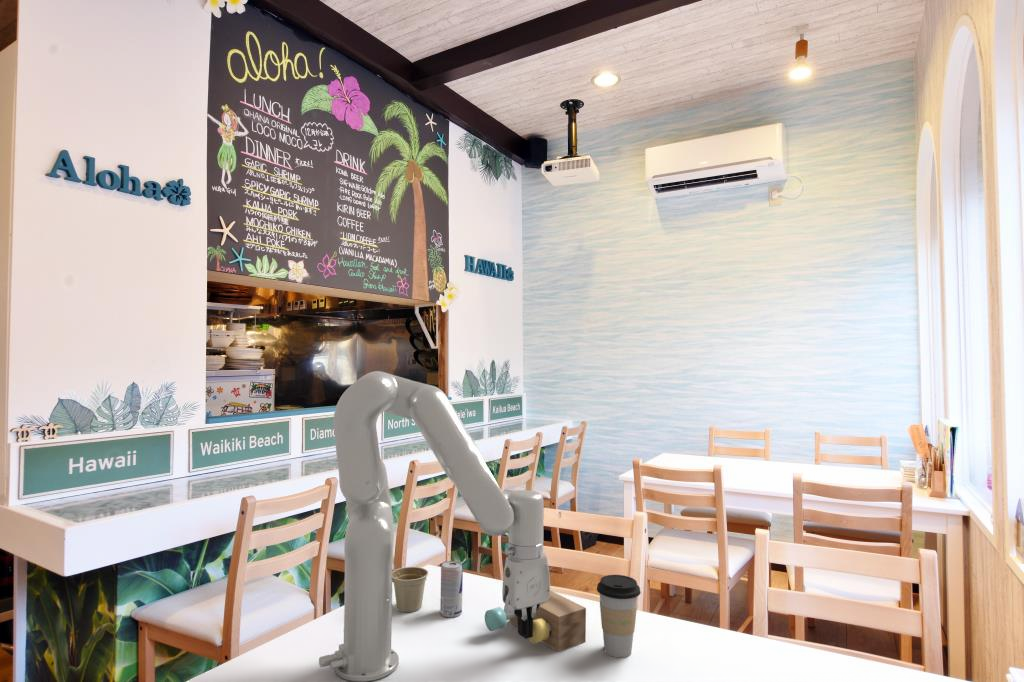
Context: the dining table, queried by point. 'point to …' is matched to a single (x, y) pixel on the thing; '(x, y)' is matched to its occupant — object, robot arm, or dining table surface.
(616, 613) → the coffee cup
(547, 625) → the knob
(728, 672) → the dining table surface
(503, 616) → the knob
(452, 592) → the energy drink
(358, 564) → the robot arm
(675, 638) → the dining table surface
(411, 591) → the flower pot
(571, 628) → the block
